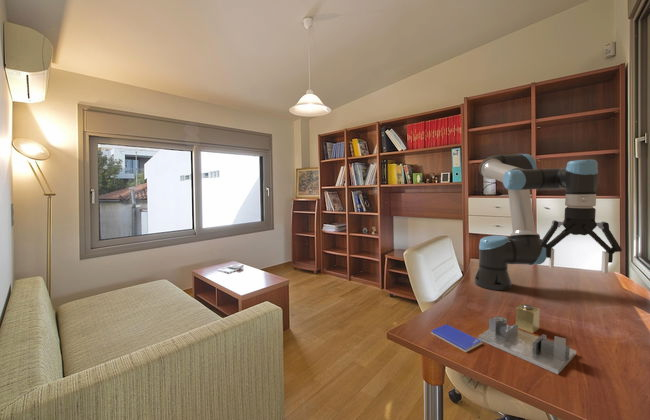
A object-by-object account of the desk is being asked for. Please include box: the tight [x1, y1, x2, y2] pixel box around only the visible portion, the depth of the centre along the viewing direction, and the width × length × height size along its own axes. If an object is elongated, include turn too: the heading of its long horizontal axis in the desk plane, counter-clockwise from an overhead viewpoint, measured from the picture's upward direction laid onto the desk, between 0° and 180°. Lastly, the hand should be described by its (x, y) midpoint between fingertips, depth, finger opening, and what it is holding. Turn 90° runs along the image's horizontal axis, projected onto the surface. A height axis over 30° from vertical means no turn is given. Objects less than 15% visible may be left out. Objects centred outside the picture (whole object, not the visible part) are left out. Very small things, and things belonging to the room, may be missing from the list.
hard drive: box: [430, 324, 483, 353], centre depth 88 cm, size 2×8×12 cm
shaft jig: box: [477, 315, 577, 375], centre depth 82 cm, size 20×14×5 cm
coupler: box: [515, 303, 541, 334], centre depth 92 cm, size 5×5×8 cm
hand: (576, 269), depth 93 cm, fingers open, 13 cm apart
